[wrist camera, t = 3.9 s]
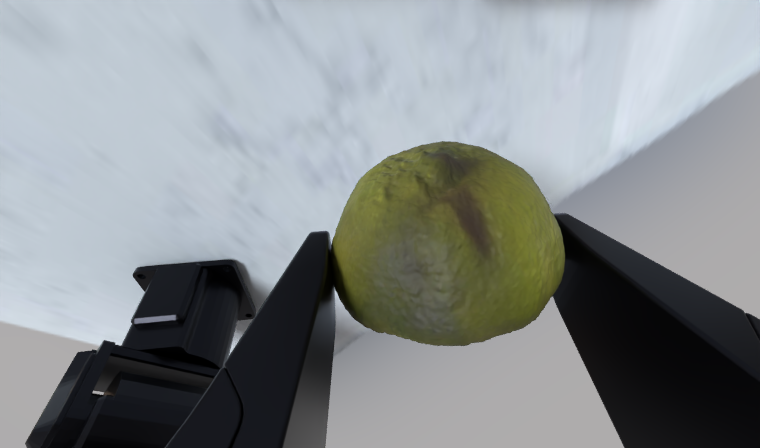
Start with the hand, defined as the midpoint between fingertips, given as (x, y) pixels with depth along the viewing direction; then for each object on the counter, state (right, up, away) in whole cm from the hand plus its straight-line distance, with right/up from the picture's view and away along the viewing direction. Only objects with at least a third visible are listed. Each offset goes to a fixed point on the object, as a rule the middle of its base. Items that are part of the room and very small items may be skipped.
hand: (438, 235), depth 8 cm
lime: (0, +1, +2) cm, 2 cm away
